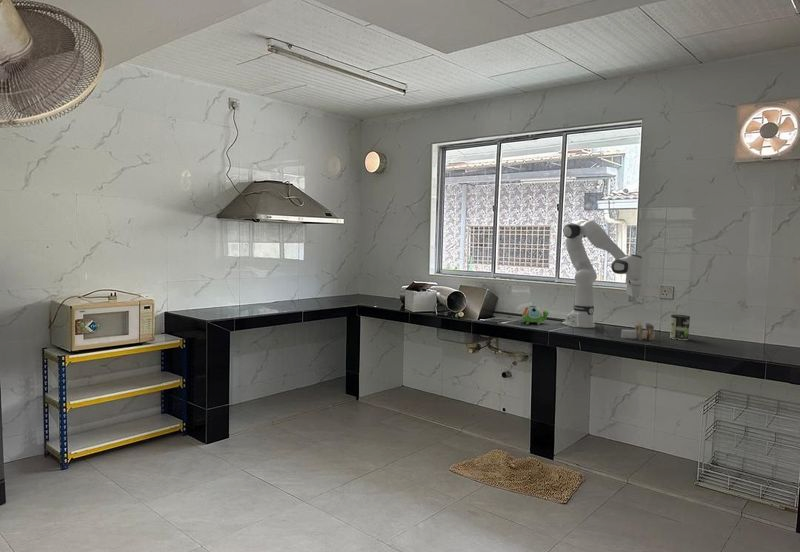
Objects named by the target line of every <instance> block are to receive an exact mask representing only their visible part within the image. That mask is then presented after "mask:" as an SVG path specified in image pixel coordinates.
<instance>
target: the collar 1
mask: <svg viewBox="0 0 800 552" xmlns="http://www.w3.org/2000/svg"><path fill="white" fill-rule="evenodd" d="M634 326H635V327H634V330H639V331H638V339H637V340H639V341H643V339H642V338H643V331H644V325H643V324H641V323H640V322H635V325H634Z"/></svg>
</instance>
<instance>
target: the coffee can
mask: <svg viewBox="0 0 800 552" xmlns="http://www.w3.org/2000/svg"><path fill="white" fill-rule="evenodd" d="M690 320H691V316H690V315H685V314H671V316H670V328H669V330H670V331H669V334H670V335H669V339H671V338H672V339H671V340H676V339H678V340H677V341H689V340H688V339H690V337H689V335H690Z"/></svg>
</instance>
